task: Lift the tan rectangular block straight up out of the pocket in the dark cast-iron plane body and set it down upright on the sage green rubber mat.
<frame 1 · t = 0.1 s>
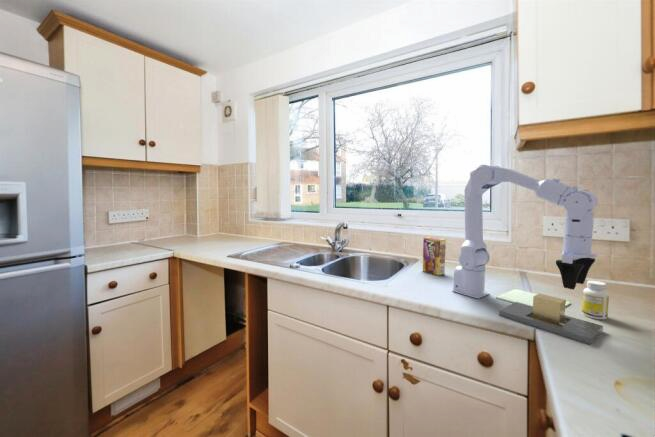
hand: (573, 285, 79), 10 cm above the worktop, tool pointing down, fingers open, 7 cm apart
supplement bottle: (594, 316, 84), on the worktop
sage mat: (532, 300, 95), on the worktop
tan rectangular block: (547, 323, 79), resting in iron frame
iron frame: (547, 322, 79), on the worktop
candy box: (433, 273, 129), on the worktop
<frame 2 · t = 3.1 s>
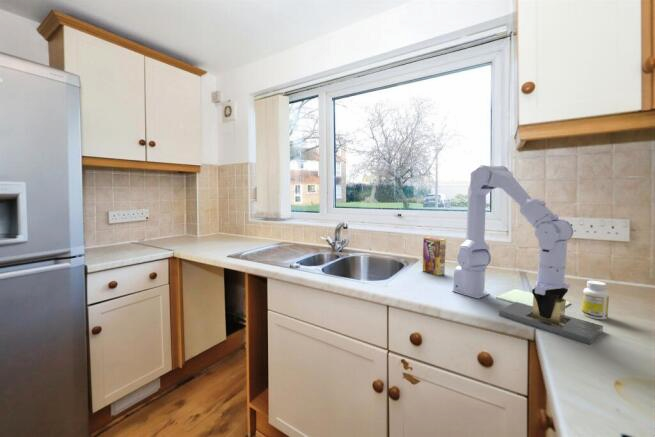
hand: (548, 315, 79), 2 cm above the worktop, tool pointing down, fingers closed on tan rectangular block, 4 cm apart
tan rectangular block: (547, 322, 79), resting in iron frame, touching gripper
everything else where it was.
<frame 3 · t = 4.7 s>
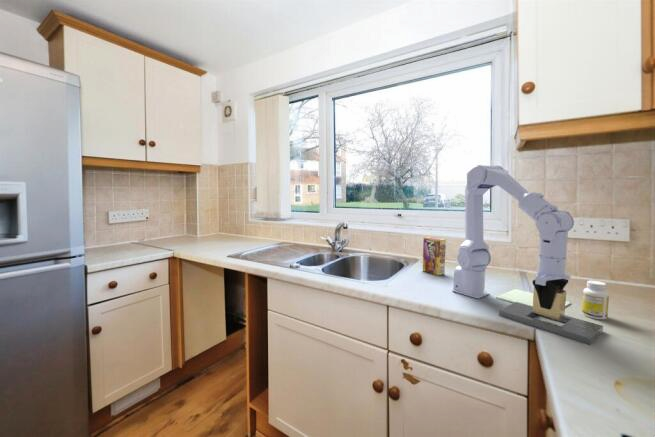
hand: (548, 306, 79), 5 cm above the worktop, tool pointing down, fingers closed on tan rectangular block, 4 cm apart
tan rectangular block: (548, 314, 79), point 2 cm above the worktop, touching gripper
everything else where it was.
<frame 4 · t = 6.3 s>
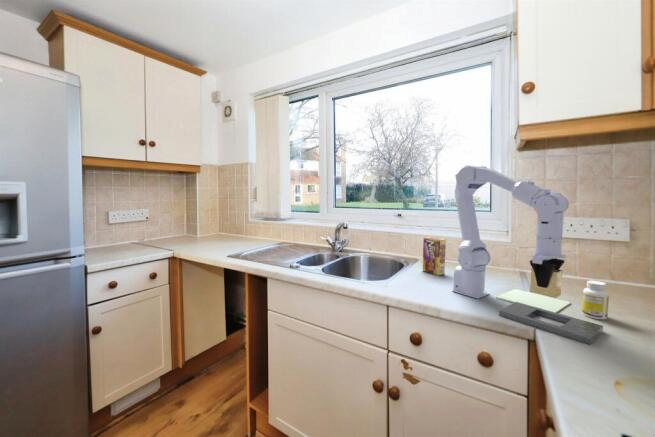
hand: (545, 285, 82), 9 cm above the worktop, tool pointing down, fingers closed on tan rectangular block, 4 cm apart
tan rectangular block: (545, 293, 82), point 7 cm above the worktop, touching gripper
everything else where it was.
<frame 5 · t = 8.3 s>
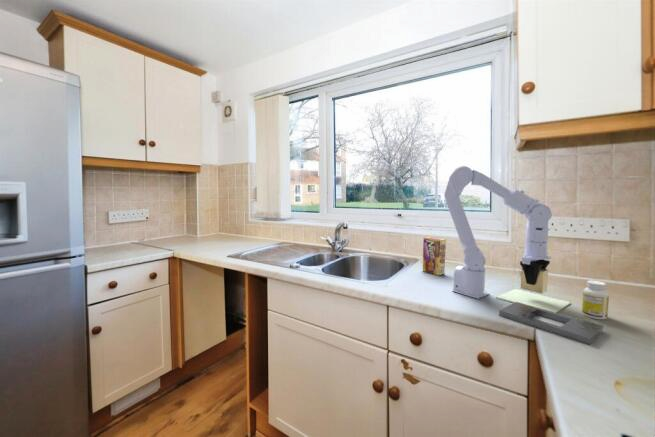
hand: (533, 282, 95), 6 cm above the worktop, tool pointing down, fingers closed on tan rectangular block, 4 cm apart
tan rectangular block: (533, 289, 95), point 4 cm above the worktop, touching gripper
everything else where it was.
when the fingers open (4 cm above the worktop, at t = 9.6 s): tan rectangular block drops 1 cm, resting on sage mat.
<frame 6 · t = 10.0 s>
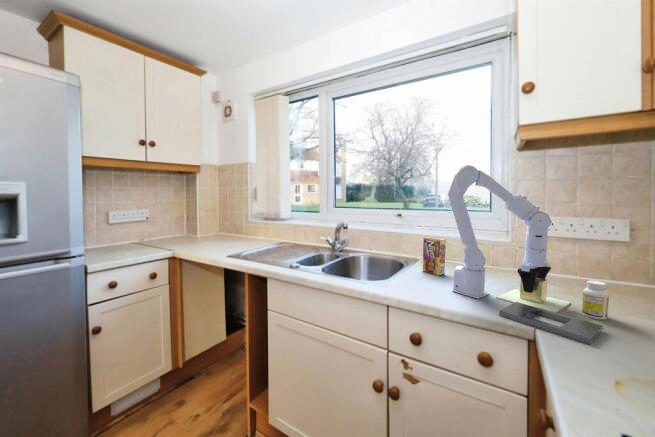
hand: (533, 289, 95), 4 cm above the worktop, tool pointing down, fingers open, 7 cm apart
tan rectangular block: (532, 299, 95), resting on sage mat
everything else where it was.
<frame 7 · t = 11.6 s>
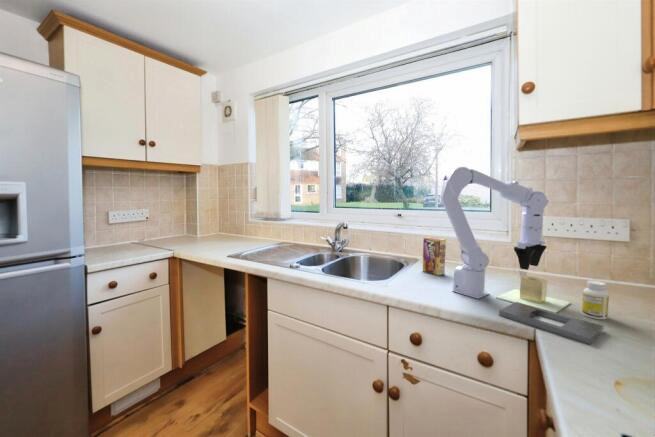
hand: (529, 267, 99), 10 cm above the worktop, tool pointing down, fingers open, 7 cm apart
nothing on the worktop moved.
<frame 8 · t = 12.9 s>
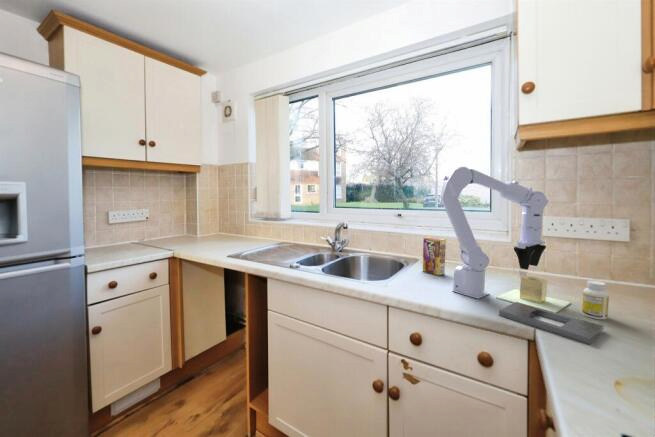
hand: (528, 267, 99), 10 cm above the worktop, tool pointing down, fingers open, 7 cm apart
nothing on the worktop moved.
at the end: tan rectangular block inside the target area on the sage mat (0.1 cm from its centre), point 0.4 cm above the sage mat's base; tan rectangular block tilted 0°; the gripper is holding nothing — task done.
